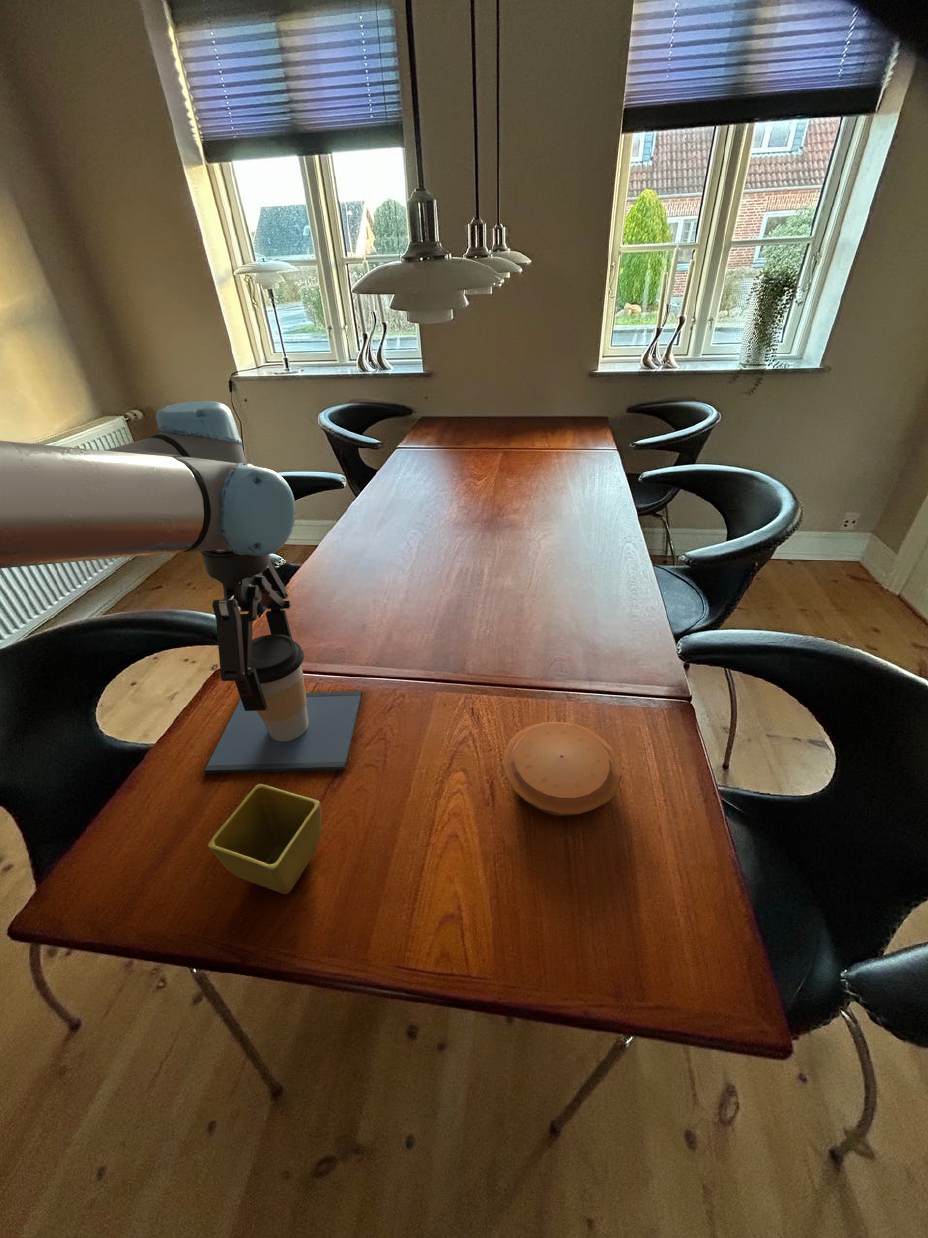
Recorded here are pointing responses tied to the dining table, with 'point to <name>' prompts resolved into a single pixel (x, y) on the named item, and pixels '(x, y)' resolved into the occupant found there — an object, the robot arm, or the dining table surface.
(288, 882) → the flower pot
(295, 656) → the coffee cup
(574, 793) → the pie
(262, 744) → the cup mat
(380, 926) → the dining table surface
